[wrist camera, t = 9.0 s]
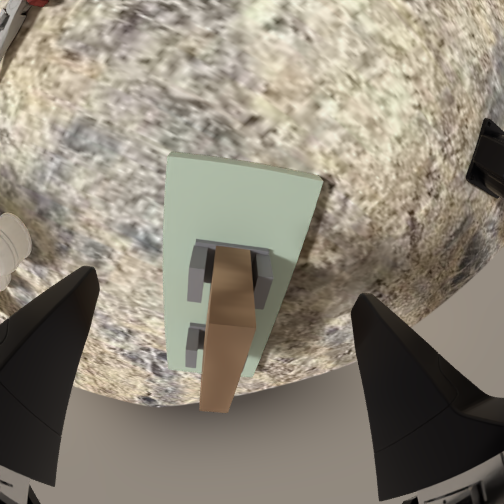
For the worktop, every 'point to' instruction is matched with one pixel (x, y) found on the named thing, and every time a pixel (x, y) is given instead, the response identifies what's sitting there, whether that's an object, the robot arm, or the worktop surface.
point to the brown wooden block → (227, 327)
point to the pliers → (14, 20)
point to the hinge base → (228, 243)
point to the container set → (12, 246)
